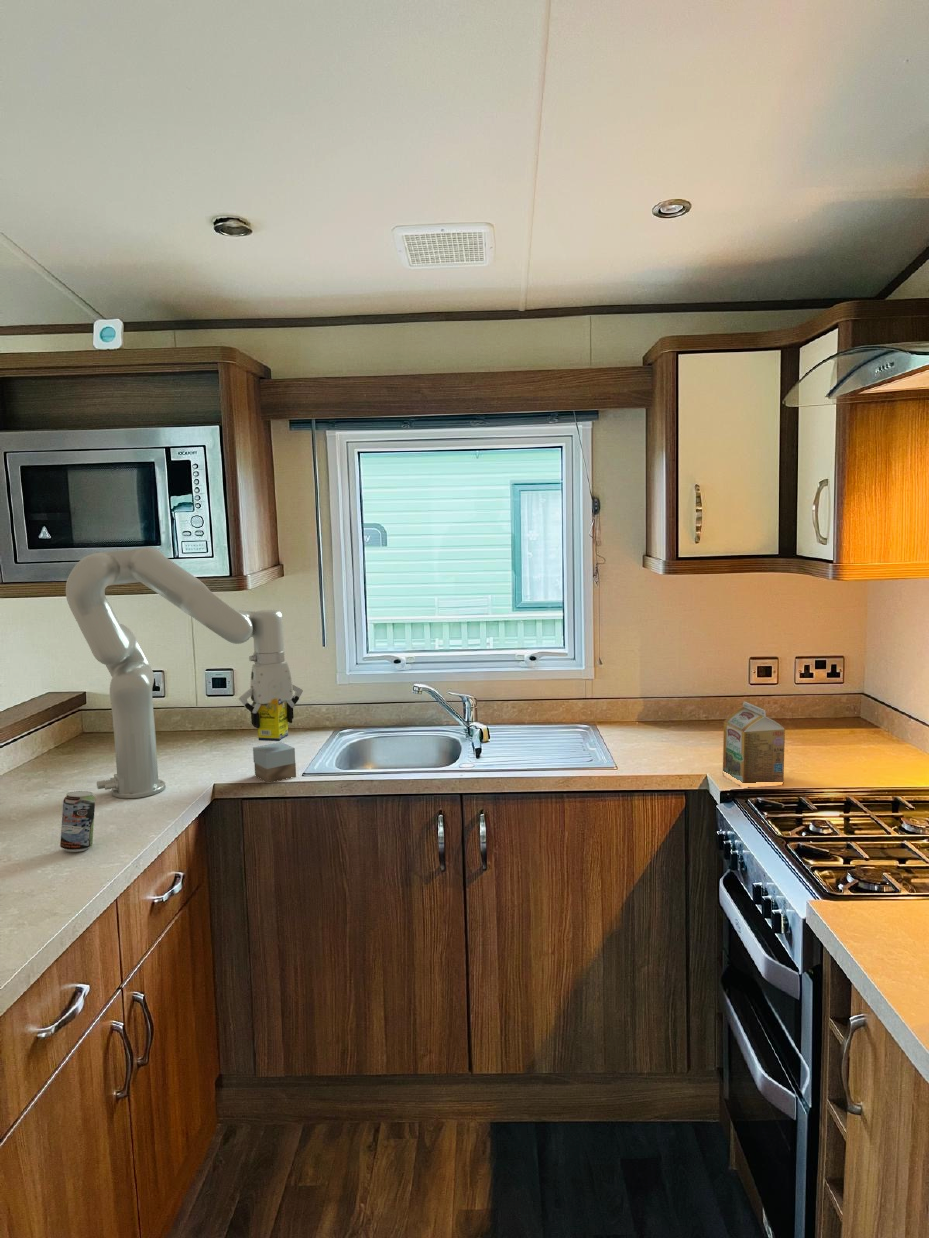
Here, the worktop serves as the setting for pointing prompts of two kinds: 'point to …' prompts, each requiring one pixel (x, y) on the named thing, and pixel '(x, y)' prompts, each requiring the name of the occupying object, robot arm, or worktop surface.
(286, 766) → the walnut block
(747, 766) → the milk carton
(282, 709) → the supplement box
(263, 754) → the slate block
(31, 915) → the worktop surface
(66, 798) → the beverage can
